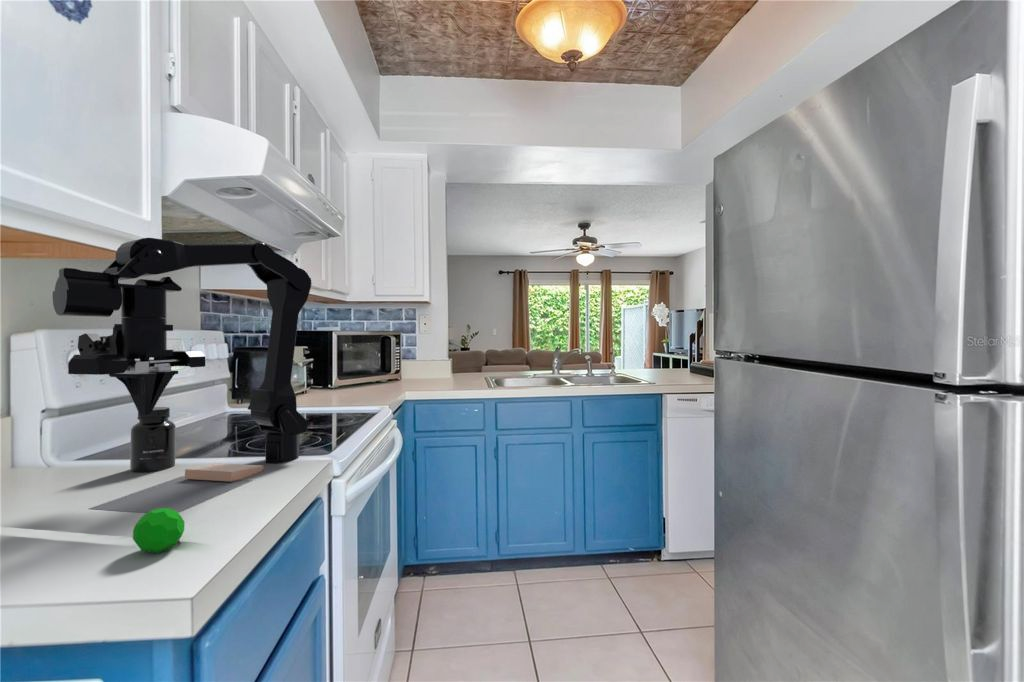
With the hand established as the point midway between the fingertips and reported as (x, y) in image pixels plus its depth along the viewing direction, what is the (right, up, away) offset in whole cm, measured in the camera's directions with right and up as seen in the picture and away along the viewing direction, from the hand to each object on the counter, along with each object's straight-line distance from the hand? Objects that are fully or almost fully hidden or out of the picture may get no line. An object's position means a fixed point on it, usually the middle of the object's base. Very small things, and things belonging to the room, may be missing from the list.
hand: (144, 415), depth 76 cm
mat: (+6, -13, -1) cm, 14 cm away
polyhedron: (+16, -14, -19) cm, 28 cm away
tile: (+7, -11, +5) cm, 14 cm away
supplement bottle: (-9, -13, +14) cm, 21 cm away
